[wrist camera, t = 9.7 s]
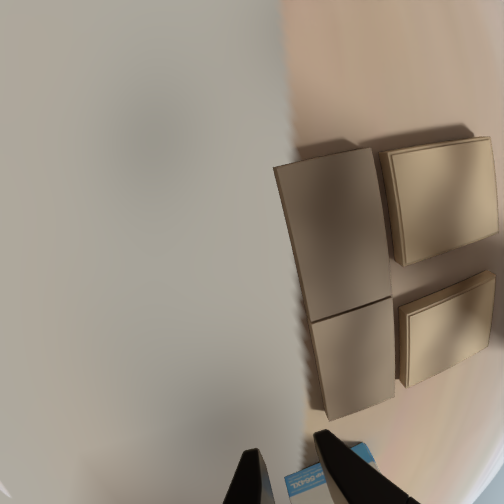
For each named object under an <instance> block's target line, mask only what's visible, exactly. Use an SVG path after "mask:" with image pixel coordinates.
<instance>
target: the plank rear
mask: <svg viewBox="0 0 504 504" xmlns="http://www.w3.org/2000/svg"><path fill="white" fill-rule="evenodd" d="M495 284H496V275H495V274H493V273H491V272H489V271H488V270H486V271H484V272H482V273H479V274H477V275H475V276H473V277H471V278H468V279H466V280H464V281H462V282H459V283H457V284H455V285H452V286H450V287H448V288H445V289H443V290H441V291H438V292H436V293H433V294H431V295H428V296H426V297H423V298H421V299H418V300H416V301H413V302H411V303H408V304H406V305H403V306H400V307H398V311H399V340H400V377H399V380H400V382H401V383H402V384H403V386H404V387H405V388H406V389H407V388H409V387H411V386H413V385H415V384H418V383H420V382H422V381H424V380H426V379H428V378H430V377H432V376H434V375H437V374H439V373H441V372H443V371H445V370H446V369H448V368H450V367H452V366H454V365H456V364H458V363H460V362H462V361H463V360H465V359H467V358H469V357H471V356H473V355H474V354H476V353H478V352H480V351H481V350H483V349H485V348H486V347H488V344H489V338H490V331H491V324H492V316H493V307H494V297H495Z"/></svg>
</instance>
